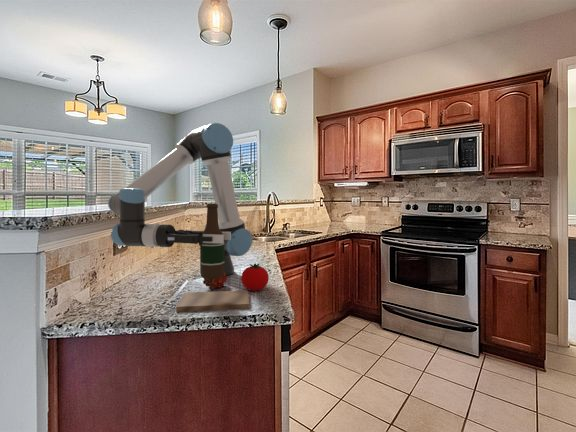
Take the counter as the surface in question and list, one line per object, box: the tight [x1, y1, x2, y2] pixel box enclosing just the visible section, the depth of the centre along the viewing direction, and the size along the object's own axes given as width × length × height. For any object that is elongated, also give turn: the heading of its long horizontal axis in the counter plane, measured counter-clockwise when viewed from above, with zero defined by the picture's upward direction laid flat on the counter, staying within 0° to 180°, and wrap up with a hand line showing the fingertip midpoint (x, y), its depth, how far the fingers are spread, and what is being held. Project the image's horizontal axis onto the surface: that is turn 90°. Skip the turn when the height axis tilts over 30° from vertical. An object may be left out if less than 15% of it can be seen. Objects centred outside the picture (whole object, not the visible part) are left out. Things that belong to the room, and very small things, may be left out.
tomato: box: [240, 262, 270, 292], centre depth 115 cm, size 10×10×10 cm
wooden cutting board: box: [175, 289, 250, 313], centre depth 101 cm, size 22×14×2 cm, turn 99°
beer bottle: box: [199, 203, 224, 279], centre depth 99 cm, size 8×8×24 cm
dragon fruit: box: [202, 272, 228, 291], centre depth 117 cm, size 8×8×12 cm
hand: (227, 237), depth 99 cm, fingers closed on beer bottle, 7 cm apart
